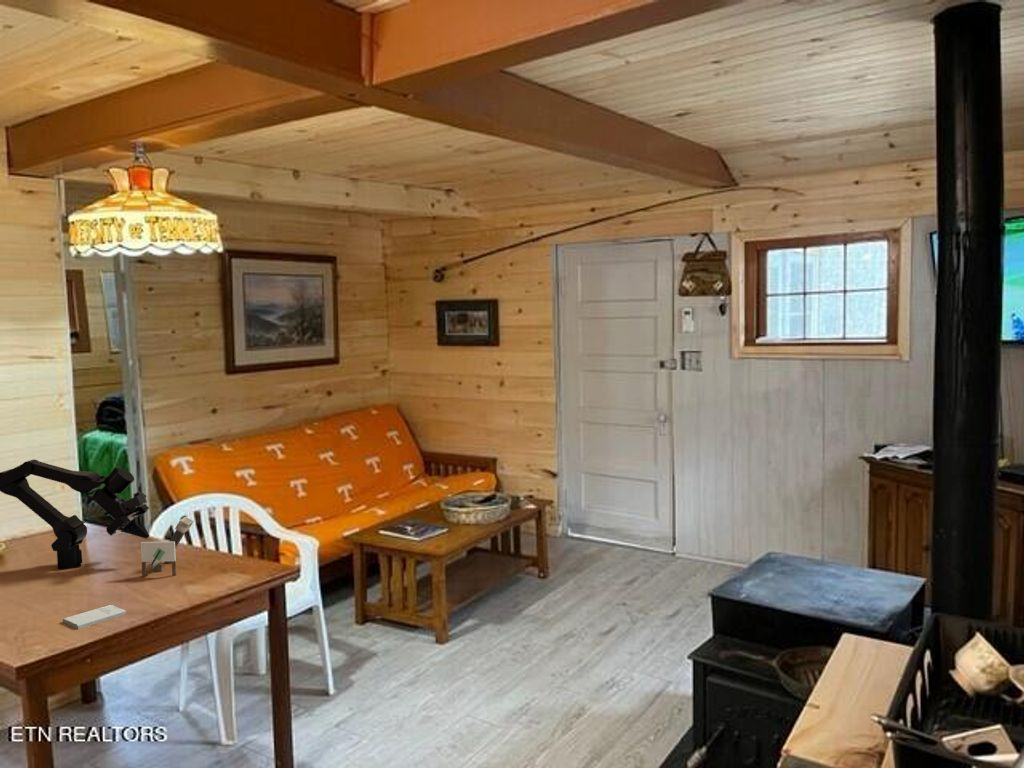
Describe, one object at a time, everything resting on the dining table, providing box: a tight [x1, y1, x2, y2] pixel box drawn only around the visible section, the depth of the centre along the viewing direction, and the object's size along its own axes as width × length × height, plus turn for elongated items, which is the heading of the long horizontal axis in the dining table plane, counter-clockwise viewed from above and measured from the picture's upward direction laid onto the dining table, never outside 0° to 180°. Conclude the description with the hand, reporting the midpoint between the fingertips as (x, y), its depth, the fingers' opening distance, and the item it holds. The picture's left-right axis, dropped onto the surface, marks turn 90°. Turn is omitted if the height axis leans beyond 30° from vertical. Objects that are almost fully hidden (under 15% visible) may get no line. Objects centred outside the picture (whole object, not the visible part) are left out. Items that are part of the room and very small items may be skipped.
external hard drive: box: [62, 604, 127, 630], centre depth 208 cm, size 2×8×12 cm
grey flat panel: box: [140, 541, 176, 563], centre depth 242 cm, size 10×1×6 cm, turn 91°
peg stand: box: [141, 561, 177, 577], centre depth 249 cm, size 10×14×4 cm
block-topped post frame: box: [146, 516, 194, 571], centre depth 248 cm, size 3×14×14 cm
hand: (148, 537), depth 252 cm, fingers closed
